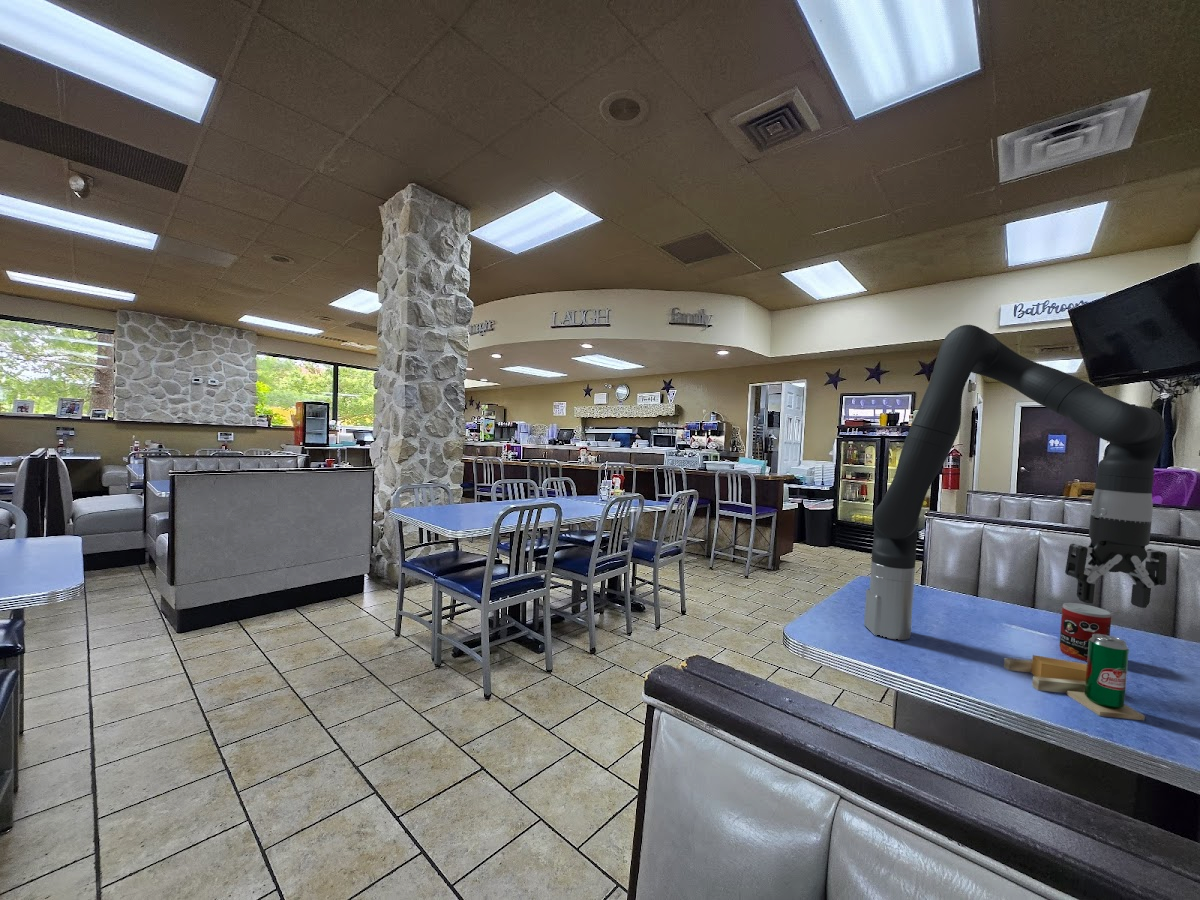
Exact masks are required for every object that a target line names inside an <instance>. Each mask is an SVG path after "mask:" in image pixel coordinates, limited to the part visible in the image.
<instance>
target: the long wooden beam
mask: <svg viewBox="0 0 1200 900" xmlns="http://www.w3.org/2000/svg"><path fill="white" fill-rule="evenodd" d="M1031 660H1032V671H1031V672H1030V673H1031V674H1032V675H1033V676H1034V677H1045V678H1056V679H1066V680H1077V681H1086V669H1087V663H1082V662H1076V661H1070V660H1065V659H1060V658H1053V657H1046V656H1040V655H1035V654H1032V659H1031Z"/></svg>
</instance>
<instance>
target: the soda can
mask: <svg viewBox="0 0 1200 900" xmlns="http://www.w3.org/2000/svg"><path fill="white" fill-rule="evenodd" d="M1129 651H1130V648H1129V647H1128V645H1127V642H1126V641H1125V640H1123V639H1121V638H1119V637H1116V636H1112V635H1110V636H1109V635H1104V634H1092V637H1091V638H1090V639H1089V644H1088V657H1087V661H1086V664H1087V669H1086V682H1085V696H1086V697H1087V698H1088V699H1089V700H1090V701H1092V702H1094V703H1096V704H1098V705H1101V706H1104V707H1107V708H1112V709H1120V708H1122V707H1123V706H1124V704H1125V702H1126V701H1125V700H1126V689H1127V688H1126V687H1127V679H1128V677H1127V675H1128V663H1129Z"/></svg>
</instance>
